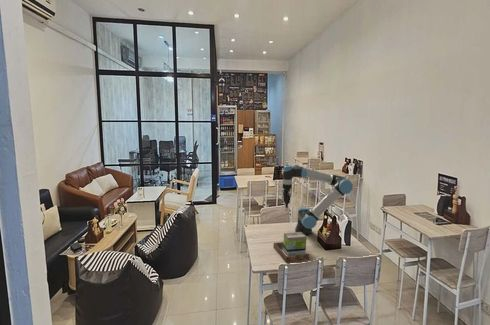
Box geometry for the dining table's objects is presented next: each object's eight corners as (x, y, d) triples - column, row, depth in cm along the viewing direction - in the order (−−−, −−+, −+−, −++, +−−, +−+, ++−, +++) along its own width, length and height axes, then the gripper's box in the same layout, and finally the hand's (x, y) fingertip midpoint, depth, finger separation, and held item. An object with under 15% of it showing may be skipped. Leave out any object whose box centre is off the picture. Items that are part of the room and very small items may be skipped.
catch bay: (294, 245, 235) (294, 240, 235) (309, 259, 212) (309, 254, 211) (273, 247, 230) (273, 242, 230) (285, 262, 207) (285, 257, 206)
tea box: (287, 256, 216) (288, 238, 214) (282, 250, 226) (283, 232, 223) (305, 254, 220) (307, 236, 217) (300, 248, 229) (301, 231, 227)
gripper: (280, 182, 247) (279, 208, 251) (286, 185, 235) (284, 213, 239) (288, 181, 249) (286, 208, 253) (294, 185, 237) (293, 212, 241)
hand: (286, 210), depth 246 cm, fingers closed
